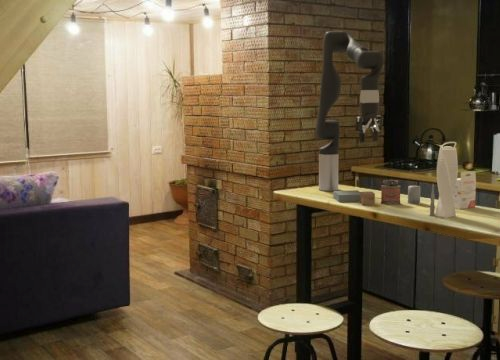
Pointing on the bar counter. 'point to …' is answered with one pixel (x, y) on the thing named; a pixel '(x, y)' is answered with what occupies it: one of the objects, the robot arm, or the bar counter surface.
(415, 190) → the grey upright block
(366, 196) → the walnut block
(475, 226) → the bar counter surface
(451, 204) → the skyscraper
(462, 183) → the ink cartridge box
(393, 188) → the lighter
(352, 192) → the block
